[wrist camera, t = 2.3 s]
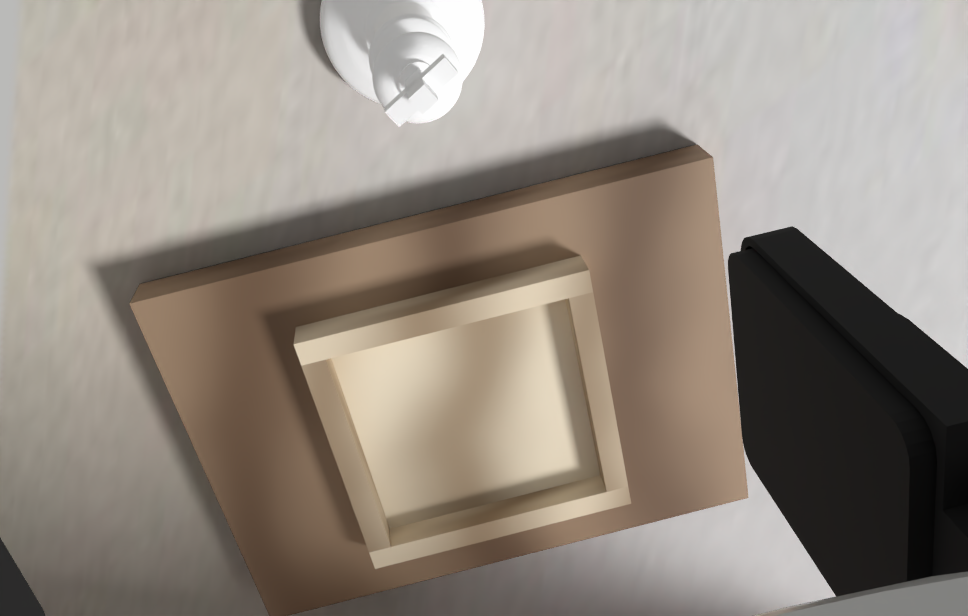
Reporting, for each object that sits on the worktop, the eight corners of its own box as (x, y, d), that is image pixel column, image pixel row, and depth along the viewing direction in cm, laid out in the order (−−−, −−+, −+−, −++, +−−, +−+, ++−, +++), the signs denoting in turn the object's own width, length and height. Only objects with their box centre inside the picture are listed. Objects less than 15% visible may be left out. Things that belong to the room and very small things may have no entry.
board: (697, 144, 30) (726, 168, 28) (734, 474, 36) (760, 517, 34) (139, 284, 30) (119, 320, 27) (274, 592, 36) (268, 643, 34)
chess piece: (516, 30, 28) (590, 108, 19) (399, 137, 29) (415, 258, 20) (407, -104, 26) (432, -88, 17) (284, 16, 27) (246, 91, 18)
